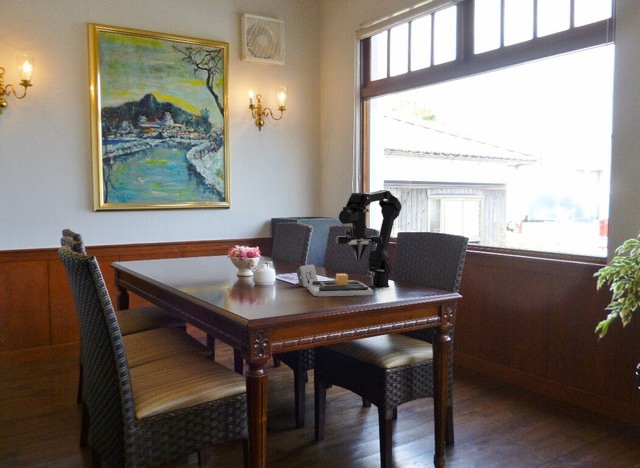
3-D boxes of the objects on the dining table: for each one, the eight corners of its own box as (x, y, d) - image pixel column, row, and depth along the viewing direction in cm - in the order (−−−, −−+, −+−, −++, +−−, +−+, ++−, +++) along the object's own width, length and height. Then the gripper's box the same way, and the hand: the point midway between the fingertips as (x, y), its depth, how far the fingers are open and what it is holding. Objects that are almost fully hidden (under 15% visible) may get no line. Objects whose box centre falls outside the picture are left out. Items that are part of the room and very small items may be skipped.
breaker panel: (361, 287, 245) (362, 279, 245) (373, 294, 228) (373, 286, 227) (307, 288, 241) (307, 280, 241) (314, 296, 223) (314, 287, 223)
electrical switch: (305, 287, 244) (303, 266, 244) (296, 287, 247) (294, 266, 247) (318, 285, 251) (317, 264, 251) (309, 284, 254) (308, 264, 254)
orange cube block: (345, 285, 237) (345, 273, 237) (347, 287, 232) (348, 275, 232) (335, 285, 236) (336, 273, 236) (338, 287, 231) (338, 275, 231)
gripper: (375, 221, 243) (374, 257, 244) (332, 222, 240) (332, 258, 241) (382, 223, 232) (382, 261, 233) (338, 223, 229) (338, 261, 230)
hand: (358, 260), depth 235 cm, fingers closed
